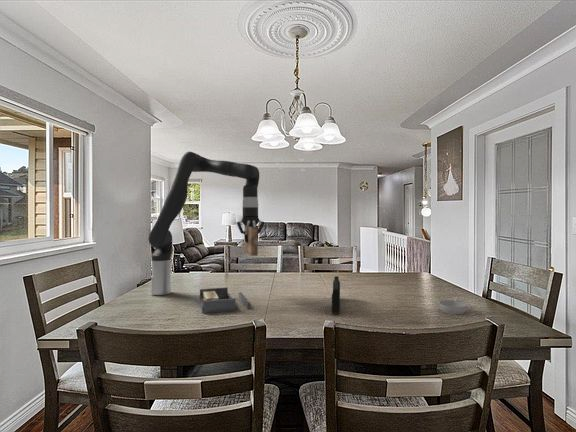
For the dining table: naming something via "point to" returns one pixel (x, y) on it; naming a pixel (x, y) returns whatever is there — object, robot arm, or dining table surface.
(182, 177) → the robot arm
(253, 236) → the walnut board
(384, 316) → the dining table surface
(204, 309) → the grey open tray
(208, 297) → the offcut stack
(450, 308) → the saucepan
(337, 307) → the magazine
